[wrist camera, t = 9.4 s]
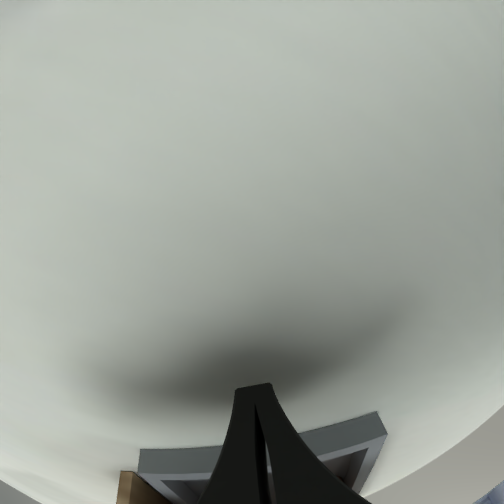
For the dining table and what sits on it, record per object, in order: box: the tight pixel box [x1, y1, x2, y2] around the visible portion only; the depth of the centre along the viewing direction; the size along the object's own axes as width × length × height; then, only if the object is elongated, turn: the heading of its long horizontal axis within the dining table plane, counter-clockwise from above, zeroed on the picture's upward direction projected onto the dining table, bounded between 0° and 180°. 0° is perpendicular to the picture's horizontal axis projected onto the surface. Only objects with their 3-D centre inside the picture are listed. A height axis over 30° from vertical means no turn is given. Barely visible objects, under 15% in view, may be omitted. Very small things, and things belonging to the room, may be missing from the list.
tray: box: [137, 411, 388, 504], centre depth 17 cm, size 14×18×2 cm
